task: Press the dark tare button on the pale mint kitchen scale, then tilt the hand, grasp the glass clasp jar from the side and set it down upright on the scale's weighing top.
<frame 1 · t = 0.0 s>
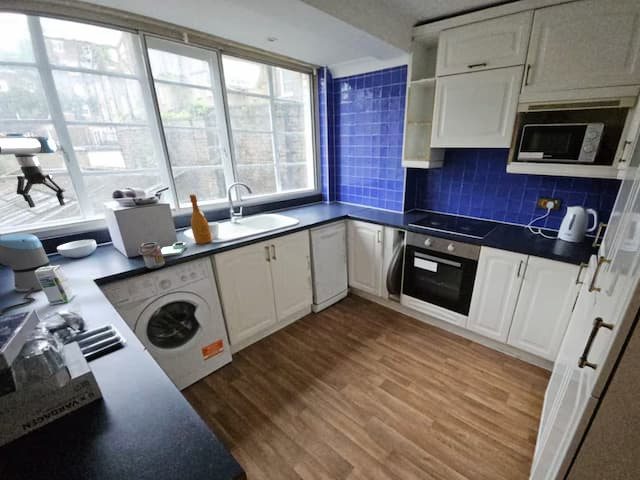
hand: (48, 206, 163), 28 cm above the table, tool pointing down, fingers open, 13 cm apart
wine bottle: (204, 242, 188), on the table
syrup box: (62, 301, 119), on the table
glass clasp jar: (155, 266, 151), on the table
cereal bowl: (81, 255, 170), on the table
tare button: (178, 243, 175), point 3 cm above the table, slide at 0.1 cm
scale: (172, 251, 172), on the table
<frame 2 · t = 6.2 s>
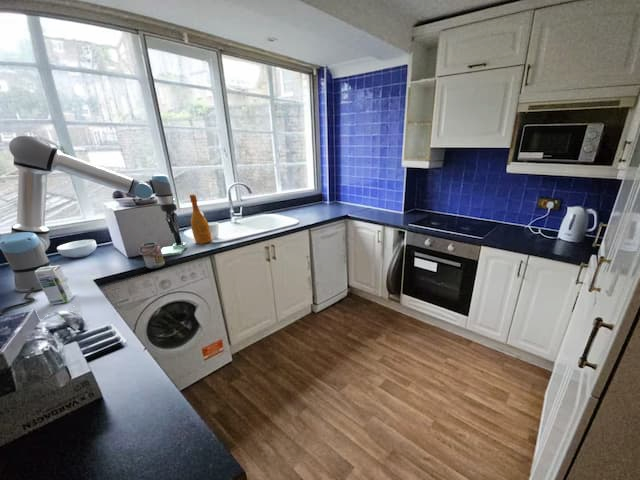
hand: (179, 243, 175), 4 cm above the table, tool pointing down, fingers closed
tare button: (179, 244, 176), point 3 cm above the table, slide at -0.6 cm, touching gripper
everything else where it was.
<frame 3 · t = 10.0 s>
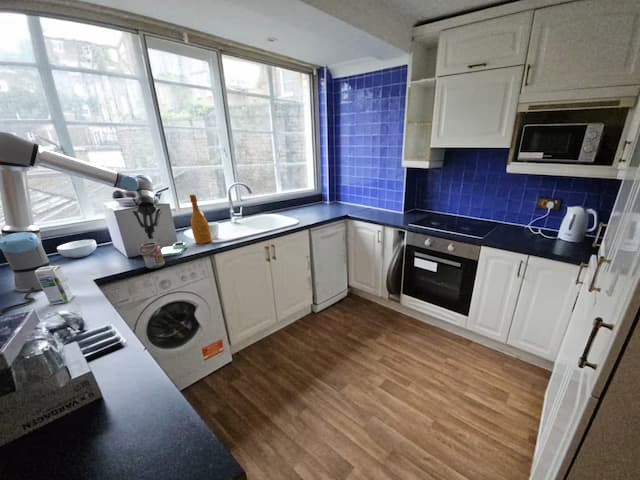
hand: (150, 237, 154), 13 cm above the table, tool tilted 45°, fingers closed
tare button: (178, 243, 175), point 3 cm above the table, slide at 0.1 cm
everything else where it was.
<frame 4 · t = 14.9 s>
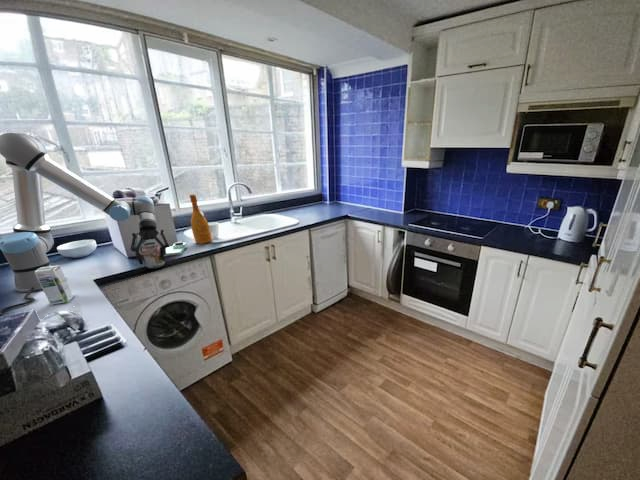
hand: (152, 261, 147), 4 cm above the table, tool tilted 45°, fingers closed on glass clasp jar, 9 cm apart
glass clasp jar: (155, 266, 151), on the table, touching gripper
everything else where it was.
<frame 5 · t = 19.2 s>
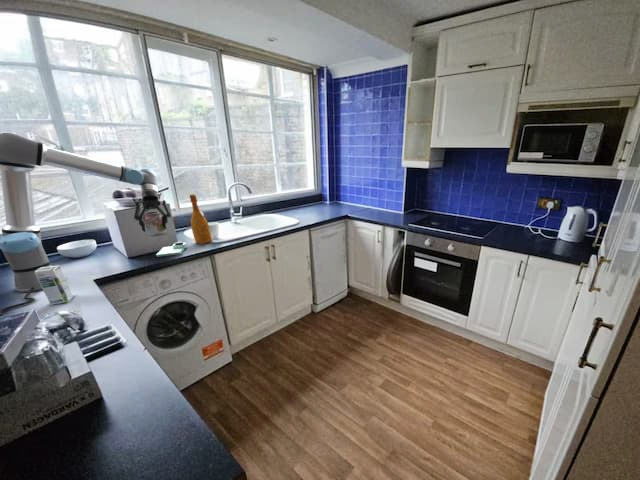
hand: (154, 229, 155), 17 cm above the table, tool tilted 45°, fingers closed on glass clasp jar, 9 cm apart
glass clasp jar: (157, 235, 159), point 13 cm above the table, touching gripper
everything else where it was.
when the fingers open (5 cm above the table, at t = 23.7 s): glass clasp jar stays where it is, resting on scale.
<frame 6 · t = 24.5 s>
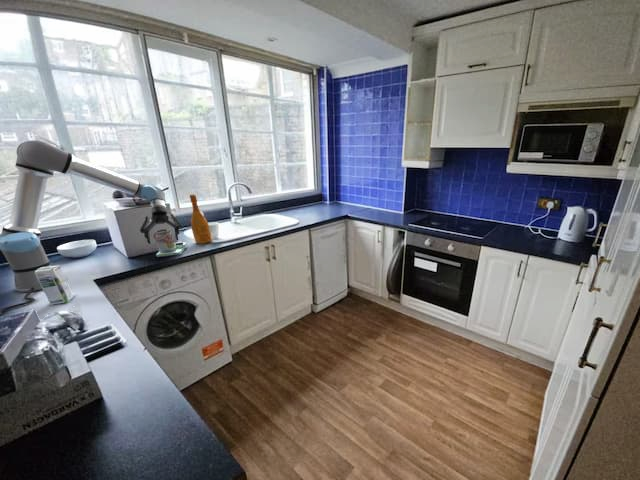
hand: (163, 240, 164), 8 cm above the table, tool tilted 45°, fingers open, 13 cm apart
glass clasp jar: (167, 251, 169), point 1 cm above the table, touching scale
everything else where it was.
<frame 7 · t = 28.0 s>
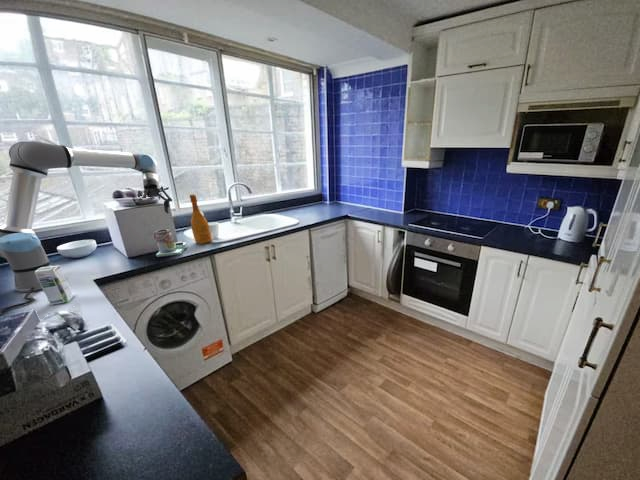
hand: (154, 214, 168), 21 cm above the table, tool tilted 40°, fingers open, 13 cm apart
nothing on the table moved.
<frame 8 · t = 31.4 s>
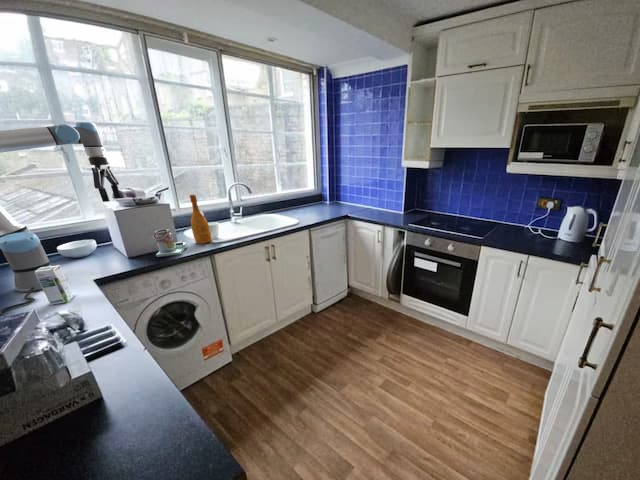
hand: (112, 199, 156), 32 cm above the table, tool pointing down, fingers open, 13 cm apart
nothing on the table moved.
at the end: tare button pushed in 0.8 cm at the most during the clip, back to where it started at the end; glass clasp jar inside the target area on the scale (2.9 cm from its centre), point 1.2 cm above the scale's base; glass clasp jar tilted 0° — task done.
